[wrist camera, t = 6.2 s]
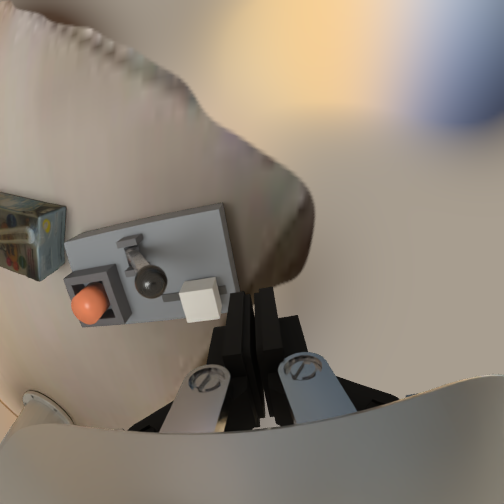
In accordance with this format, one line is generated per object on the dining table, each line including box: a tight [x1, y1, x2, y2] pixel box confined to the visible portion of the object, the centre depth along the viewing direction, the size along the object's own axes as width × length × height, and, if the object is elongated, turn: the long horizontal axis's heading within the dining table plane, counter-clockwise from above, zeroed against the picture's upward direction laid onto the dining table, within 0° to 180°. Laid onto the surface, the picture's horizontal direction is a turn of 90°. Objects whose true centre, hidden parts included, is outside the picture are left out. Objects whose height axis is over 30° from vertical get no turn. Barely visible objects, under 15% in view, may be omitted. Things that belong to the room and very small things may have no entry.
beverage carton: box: [0, 192, 66, 282], centre depth 26 cm, size 8×19×7 cm, turn 77°
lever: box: [124, 244, 168, 299], centre depth 21 cm, size 2×2×10 cm
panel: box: [63, 203, 240, 327], centre depth 28 cm, size 10×17×6 cm, turn 100°
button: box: [71, 282, 111, 325], centre depth 25 cm, size 3×3×3 cm
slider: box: [179, 277, 222, 323], centre depth 26 cm, size 3×3×2 cm
